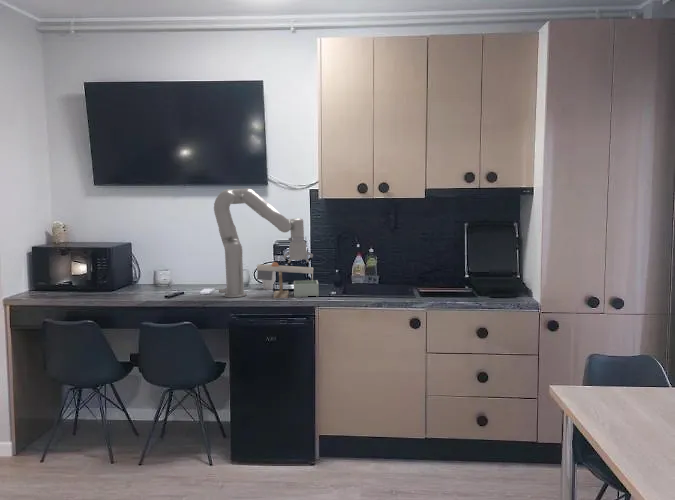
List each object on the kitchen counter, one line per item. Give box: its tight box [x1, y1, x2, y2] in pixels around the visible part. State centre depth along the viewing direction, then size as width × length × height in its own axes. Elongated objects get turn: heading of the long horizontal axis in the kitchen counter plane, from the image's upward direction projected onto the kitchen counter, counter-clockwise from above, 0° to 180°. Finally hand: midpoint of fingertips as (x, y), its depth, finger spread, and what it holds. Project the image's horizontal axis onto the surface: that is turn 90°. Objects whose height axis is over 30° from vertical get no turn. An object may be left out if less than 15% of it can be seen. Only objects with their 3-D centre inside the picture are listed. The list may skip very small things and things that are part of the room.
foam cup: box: [261, 271, 277, 291], centre depth 363 cm, size 10×9×13 cm
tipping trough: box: [256, 263, 314, 281], centre depth 343 cm, size 31×17×8 cm, turn 94°
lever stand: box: [273, 271, 289, 299], centre depth 339 cm, size 8×14×14 cm, turn 4°
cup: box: [293, 279, 320, 298], centre depth 340 cm, size 14×14×7 cm
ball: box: [270, 261, 279, 267], centre depth 338 cm, size 4×4×4 cm
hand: (298, 269), depth 349 cm, fingers open, 9 cm apart
